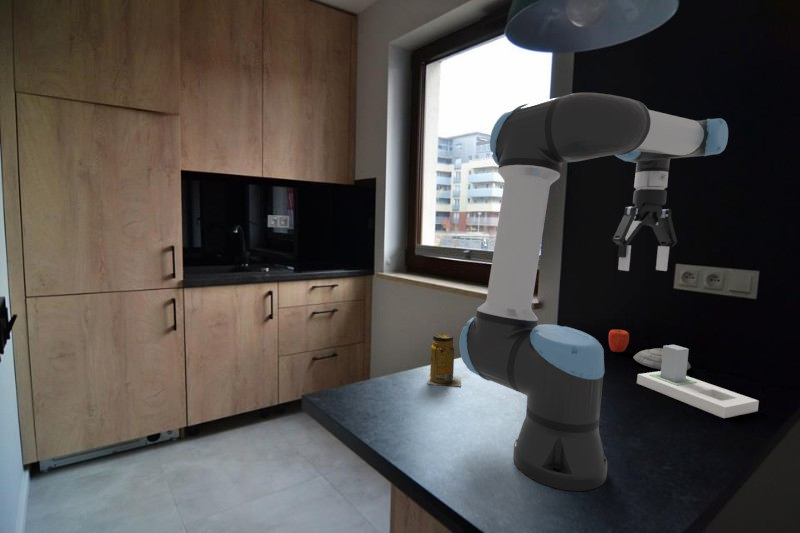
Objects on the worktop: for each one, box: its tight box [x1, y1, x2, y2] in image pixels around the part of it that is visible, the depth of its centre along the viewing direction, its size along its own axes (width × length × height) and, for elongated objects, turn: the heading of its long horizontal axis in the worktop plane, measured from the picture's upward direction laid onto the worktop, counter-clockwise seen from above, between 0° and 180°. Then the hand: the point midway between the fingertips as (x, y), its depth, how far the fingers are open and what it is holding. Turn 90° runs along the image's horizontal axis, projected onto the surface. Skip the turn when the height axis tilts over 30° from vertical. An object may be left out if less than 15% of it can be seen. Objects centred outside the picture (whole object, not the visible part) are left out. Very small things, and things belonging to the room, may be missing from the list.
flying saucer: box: [633, 347, 692, 371], centre depth 132 cm, size 15×15×6 cm
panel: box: [636, 370, 760, 419], centre depth 108 cm, size 12×22×3 cm, turn 22°
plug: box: [660, 344, 690, 383], centre depth 113 cm, size 4×5×11 cm
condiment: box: [427, 333, 462, 387], centre depth 113 cm, size 7×8×12 cm
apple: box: [608, 329, 630, 353], centre depth 146 cm, size 6×6×8 cm
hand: (642, 270), depth 115 cm, fingers open, 13 cm apart
